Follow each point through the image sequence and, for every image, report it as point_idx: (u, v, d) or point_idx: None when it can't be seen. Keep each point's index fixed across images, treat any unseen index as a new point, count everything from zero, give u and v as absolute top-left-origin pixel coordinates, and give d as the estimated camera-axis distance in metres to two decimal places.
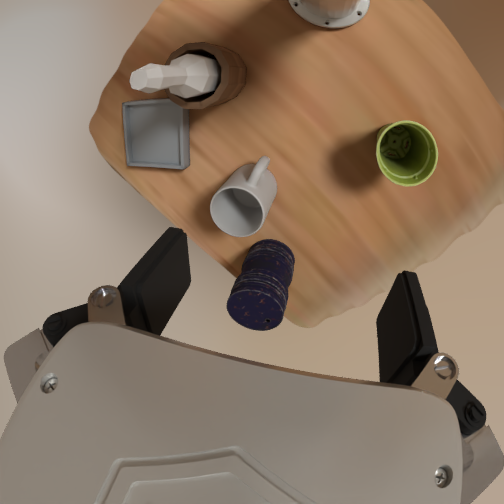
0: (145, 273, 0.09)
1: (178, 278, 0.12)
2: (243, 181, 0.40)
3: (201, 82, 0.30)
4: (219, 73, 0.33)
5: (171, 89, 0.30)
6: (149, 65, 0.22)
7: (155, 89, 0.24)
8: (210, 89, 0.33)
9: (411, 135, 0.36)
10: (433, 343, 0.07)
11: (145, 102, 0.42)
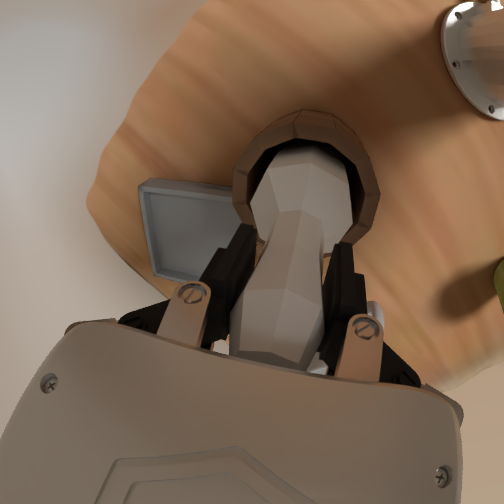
0: (232, 268, 0.10)
1: (249, 273, 0.12)
2: None
3: (337, 239, 0.16)
4: None
5: None
6: (291, 310, 0.08)
7: None
8: None
9: None
10: (353, 303, 0.08)
11: (180, 193, 0.28)
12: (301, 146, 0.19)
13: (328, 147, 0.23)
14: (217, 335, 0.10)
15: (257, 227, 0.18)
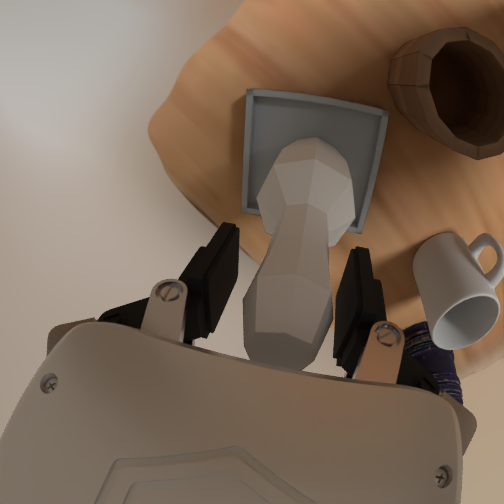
0: (210, 266, 0.10)
1: (231, 272, 0.12)
2: (484, 280, 0.20)
3: (341, 232, 0.17)
4: None
5: None
6: (303, 294, 0.09)
7: None
8: None
9: None
10: (375, 310, 0.08)
11: (306, 98, 0.22)
12: (304, 144, 0.20)
13: (330, 145, 0.24)
14: (196, 333, 0.10)
15: (263, 221, 0.18)
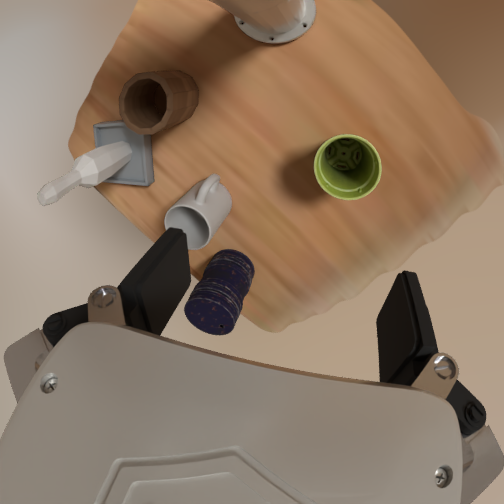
0: (145, 273, 0.09)
1: (178, 278, 0.12)
2: (192, 199, 0.43)
3: (93, 178, 0.40)
4: (111, 163, 0.43)
5: None
6: (47, 186, 0.32)
7: None
8: (106, 177, 0.43)
9: (361, 146, 0.39)
10: (433, 342, 0.07)
11: (112, 124, 0.45)
12: None
13: (123, 144, 0.47)
14: None
15: None
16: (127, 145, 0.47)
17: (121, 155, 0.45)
